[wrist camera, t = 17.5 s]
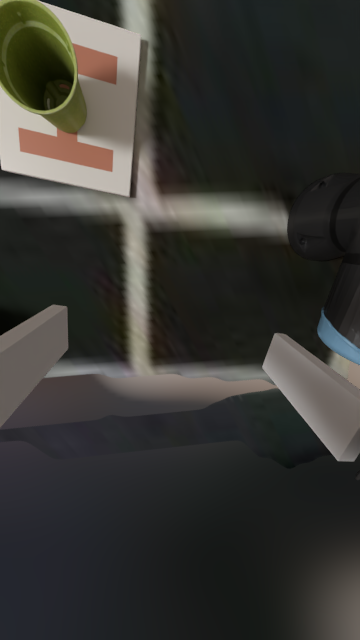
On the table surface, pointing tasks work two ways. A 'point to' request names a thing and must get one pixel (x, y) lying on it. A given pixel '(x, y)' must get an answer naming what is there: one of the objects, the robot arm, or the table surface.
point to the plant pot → (40, 64)
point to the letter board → (101, 122)
